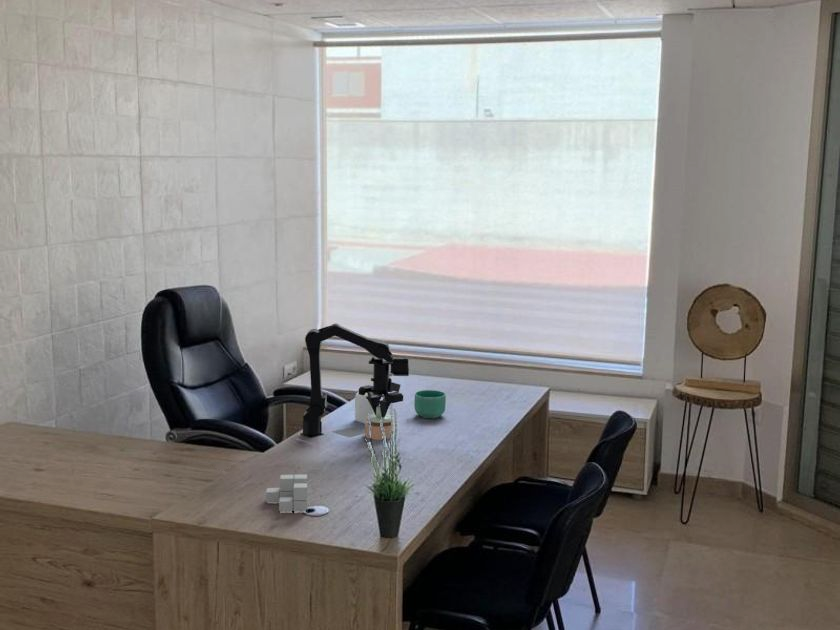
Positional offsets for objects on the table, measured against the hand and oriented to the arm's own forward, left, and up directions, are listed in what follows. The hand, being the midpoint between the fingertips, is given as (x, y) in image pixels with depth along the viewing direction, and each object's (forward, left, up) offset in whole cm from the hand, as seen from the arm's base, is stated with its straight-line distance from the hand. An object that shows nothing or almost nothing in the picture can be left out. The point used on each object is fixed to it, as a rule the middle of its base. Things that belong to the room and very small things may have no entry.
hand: (380, 416), depth 352 cm
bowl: (0, 0, -8) cm, 8 cm away
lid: (0, 0, -1) cm, 1 cm away
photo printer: (+9, +18, -8) cm, 22 cm away
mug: (+37, +9, -8) cm, 39 cm away
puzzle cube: (-71, -35, -8) cm, 80 cm away
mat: (-5, +11, -8) cm, 14 cm away
